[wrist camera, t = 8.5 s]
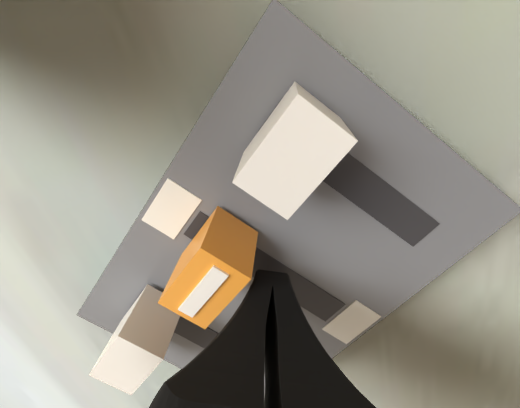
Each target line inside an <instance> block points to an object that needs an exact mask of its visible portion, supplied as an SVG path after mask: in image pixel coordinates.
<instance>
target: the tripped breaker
mask: <svg viewBox="0 0 520 408" xmlns="http://www.w3.org/2000/svg"><path fill="white" fill-rule="evenodd" d="M257 237H258V232H257V231H256V230H254V229H253V228H251V227H250V226H248V225H246V224H245V223H243V222H242V221H240V220H239V219H237V218H236V217H234V216H233V215H231V214H230V213H228V212H227V211H225V210H223V209H222V208H220V207H219V206H217V208H216V209H215V210H214V212H213V213H212V214H211V216H210V217H209V218H208V220H207V221H206V222H205V224H204V225H203V226H202V228H201V229H200V230H199V232H198V233H197V234H196V236H195V237H194V238H193V240H192V241H191V242H190V244H189V245H188V246H187V248H186V249H185V250H184V252H183V253H182V254H181V256H180V258H179V260H178V262H177V264H176V266H175V269H174V271H173V273H172V275H171V277H170V279H169V281H168V283H167V285H166V287H165V289H164V291H163V293H162V295H161V297H160V299H159V301H158V304H160V305H162V306H163V307H165V308H167V309H169V310H171V311H172V312H174V313H176V314H178V315H180V316H182V317H183V318H185V319H187V320H189V321H191V322H192V323H194V324H196V325H198V326H200V327H201V328H203V329H206V328H207V327H208V326H209V325H210V323H211V322H212V321H213V320H214V319H215V318H216V317H217V316H218V315H219V314H220V313H221V312H222V310H223V309H224V308H225V307H226V306H227V305H228V304H229V303H230V302H231V301H232V300H233V299H234V298H235V296H236V295H237V294H238V293H239V292H240V291H241V290H242V289H243V288H244V287H245V286H246V285H247V283H248V282H249V281H250V280H251V279H252V272H253V265H254V258H255V251H256V244H257Z"/></svg>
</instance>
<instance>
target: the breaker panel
mask: <svg viewBox="0 0 520 408" xmlns="http://www.w3.org/2000/svg"><path fill="white" fill-rule="evenodd" d="M217 206H219V207H220V208H222V209H223V210H225V211H227V212H228V213H230V214H231V215H233V216H234V217H236V218H237V219H239V220H240V221H242V222H243V223H245V224H246V225H248V226H250V227H251V228H253V229H254V230H256V231H257V232H258V237H257V244H256V251H255V258H254V265H253V272H252V279H251V280H250V281H249V282H248V283H247V285H246V286H245V287H244V288H243V289H242V290H241V291H240V292H239V293H238V294H237V295H236V296H235V298H234V299H233V300H232V301H231V302H230V303H229V304H228V305H227V306H226V307H225V308H224V309H223V310H222V312H221V313H220V314H219V315H218V316H217V317H216V318H215V319H214V320H213V321H212V322H211V323H210V325H209V326H208V327H207V328H206V329H203V328H201V327H200V326H198V325H196V324H194V323H192V322H191V321H189V320H187V319H185V318H183V317H182V316H180V315H178V314H176V313H174V312H172V311H171V310H169V309H167V308H165V307H163V306H162V305H160V304H158V301H159V299H160V297H161V295H162V293H163V291H164V289H165V287H166V285H167V283H168V281H169V279H170V277H171V275H172V273H173V271H174V269H175V266H176V264H177V262H178V260H179V258H180V256H181V254H182V253H183V252H184V250H185V249H186V248H187V246H188V245H189V244H190V242H191V241H192V240H193V238H194V237H195V236H196V234H197V233H198V232H199V230H200V229H201V228H202V226H203V225H204V224H205V222H206V221H207V220H208V218H209V217H210V216H211V214H212V213H213V212H214V210H215V209H216V208H217ZM519 213H520V207H519V206H518V205H517V204H516V203H515V202H514V201H512V200H511V199H510V198H509V197H508V196H507V195H505V194H504V193H503V192H502V191H501V190H499V189H498V188H497V187H496V186H495V185H494V184H492V183H491V182H490V181H489V180H488V179H487V178H485V177H484V176H483V175H482V174H481V173H479V172H478V171H477V170H476V169H475V168H474V167H472V166H471V165H470V164H469V163H468V162H467V161H465V160H464V159H463V158H462V157H461V156H459V155H458V154H457V153H456V152H455V151H454V150H452V149H451V148H450V147H449V146H448V145H447V144H445V143H444V142H443V141H442V140H441V139H439V138H438V137H437V136H436V135H435V134H434V133H432V132H431V131H430V130H429V129H428V128H427V127H425V126H424V125H423V124H422V123H421V122H419V121H418V120H417V119H416V118H415V117H414V116H412V115H411V114H410V113H409V112H408V111H407V110H405V109H404V108H403V107H402V106H401V105H399V104H398V103H397V102H396V101H395V100H394V99H392V98H391V97H390V96H389V95H388V94H387V93H385V92H384V91H383V90H382V89H381V88H379V87H378V86H377V85H376V84H375V83H374V82H372V81H371V80H370V79H369V78H368V77H367V76H365V75H364V74H363V73H362V72H361V71H359V70H358V69H357V68H356V67H355V66H354V65H352V64H351V63H350V62H349V61H348V60H347V59H345V58H344V57H343V56H342V55H341V54H339V53H338V52H337V51H336V50H335V49H334V48H332V47H331V46H330V45H329V44H328V43H327V42H325V41H324V40H323V39H322V38H321V37H319V36H318V35H317V34H316V33H315V32H314V31H312V30H311V29H310V28H309V27H308V26H307V25H305V24H304V23H303V22H302V21H301V20H299V19H298V18H297V17H296V16H295V15H294V14H292V13H291V12H290V11H289V10H288V9H287V8H285V7H284V6H283V5H282V4H281V3H279V2H278V1H277V0H272V1H271V3H270V5H269V6H268V8H267V9H266V11H265V13H264V14H263V16H262V17H261V19H260V21H259V22H258V24H257V25H256V27H255V29H254V30H253V32H252V34H251V35H250V37H249V38H248V40H247V42H246V43H245V45H244V46H243V48H242V50H241V51H240V53H239V54H238V56H237V58H236V59H235V61H234V62H233V64H232V66H231V67H230V69H229V71H228V72H227V74H226V75H225V77H224V79H223V80H222V82H221V83H220V85H219V87H218V88H217V90H216V91H215V93H214V95H213V96H212V98H211V99H210V101H209V103H208V104H207V106H206V108H205V109H204V111H203V112H202V114H201V116H200V117H199V119H198V120H197V122H196V124H195V125H194V127H193V128H192V130H191V132H190V133H189V135H188V136H187V138H186V140H185V141H184V143H183V145H182V146H181V148H180V149H179V151H178V153H177V154H176V156H175V157H174V159H173V161H172V162H171V164H170V165H169V167H168V169H167V170H166V172H165V173H164V175H163V177H162V178H161V180H160V182H159V183H158V185H157V186H156V188H155V190H154V191H153V193H152V194H151V196H150V198H149V199H148V201H147V202H146V204H145V206H144V207H143V209H142V210H141V212H140V214H139V215H138V217H137V219H136V220H135V222H134V223H133V225H132V227H131V228H130V230H129V231H128V233H127V235H126V236H125V238H124V239H123V241H122V243H121V244H120V246H119V247H118V249H117V251H116V252H115V254H114V256H113V257H112V259H111V260H110V262H109V264H108V265H107V267H106V268H105V270H104V272H103V273H102V275H101V276H100V278H99V280H98V281H97V283H96V284H95V286H94V288H93V289H92V291H91V292H90V294H89V296H88V297H87V299H86V301H85V302H84V304H83V305H82V307H81V309H80V310H79V312H78V313H77V316H79V317H81V318H83V319H85V320H87V321H89V322H91V323H93V324H95V325H97V326H99V327H101V328H103V329H105V330H107V331H109V332H111V333H113V335H112V337H111V338H110V340H109V342H108V344H107V345H106V347H105V349H104V350H103V352H102V354H101V355H100V357H99V359H98V360H97V362H96V364H95V365H94V367H93V369H92V371H91V372H90V374H89V376H92V377H94V378H96V379H98V380H100V381H102V382H104V383H106V384H108V385H111V386H113V387H115V388H117V389H119V390H121V391H123V392H125V393H127V394H130V395H132V394H133V393H134V392H135V391H136V389H137V388H138V387H139V386H140V385H141V384H142V383H143V382H144V380H145V379H146V378H147V377H148V376H149V375H150V374H151V373H152V372H153V370H154V369H155V368H156V367H157V366H158V365H159V364H160V363H161V361H162V360H165V361H167V362H169V363H171V364H173V365H175V366H177V367H179V368H181V369H182V368H184V367H185V366H186V365H187V364H188V363H189V362H191V361H192V360H193V359H194V358H195V357H196V356H197V355H198V354H199V353H200V352H201V351H203V350H204V349H205V348H206V347H207V346H208V345H209V344H210V342H211V341H212V340H213V339H214V338H215V337H216V336H217V335H218V334H219V332H220V331H221V330H222V329H223V328H224V326H225V325H226V324H227V323H228V321H229V320H230V319H231V317H232V316H233V315H234V313H235V312H236V310H237V309H238V307H239V306H240V304H241V303H242V301H243V299H244V297H245V296H246V294H247V292H248V290H249V288H250V286H251V284H252V282H253V279H254V276H255V272H256V271H257V270H259V269H260V270H267V271H274V272H282V273H287V274H288V275H289V278H290V281H291V285H292V287H293V290H294V293H295V295H296V298H297V300H298V302H299V305H300V307H301V309H302V311H303V313H304V315H305V317H306V319H307V321H308V323H309V325H310V326H311V328H312V330H313V332H314V333H315V335H316V337H317V338H318V340H319V341H320V343H321V344H322V346H323V347H324V349H325V350H326V352H327V353H328V355H329V356H330V357H331V359H332V358H334V357H335V356H336V355H337V354H339V353H340V352H341V351H343V350H344V349H345V348H346V347H348V346H349V345H350V344H352V343H353V342H354V341H355V340H357V339H358V338H359V337H361V336H362V335H363V334H364V333H366V332H367V331H368V330H370V329H371V328H372V327H373V326H375V325H376V324H377V323H379V322H380V321H381V320H383V319H384V318H385V317H386V316H388V315H389V314H390V313H392V312H393V311H394V310H395V309H397V308H398V307H399V306H401V305H402V304H403V303H404V302H406V301H407V300H408V299H410V298H411V297H412V296H413V295H415V294H416V293H417V292H419V291H420V290H421V289H422V288H424V287H425V286H426V285H428V284H429V283H430V282H431V281H433V280H434V279H435V278H437V277H438V276H439V275H441V274H442V273H443V272H444V271H446V270H447V269H448V268H450V267H451V266H452V265H453V264H455V263H456V262H457V261H459V260H460V259H461V258H462V257H464V256H465V255H466V254H468V253H469V252H470V251H471V250H473V249H474V248H475V247H477V246H478V245H479V244H480V243H482V242H483V241H484V240H486V239H487V238H488V237H489V236H491V235H492V234H493V233H495V232H496V231H497V230H499V229H500V228H501V227H502V226H504V225H505V224H506V223H508V222H509V221H510V220H511V219H513V218H514V217H515V216H517V215H518V214H519ZM264 398H265V363H264Z"/></svg>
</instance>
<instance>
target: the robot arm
mask: <svg viewBox="0 0 520 408" xmlns="http://www.w3.org/2000/svg"><path fill="white" fill-rule="evenodd" d="M264 363H265V398H264ZM149 408H376V407H375V406H374V405H373V404H372V403H371V402H370V401H369V400H368V399H367V398H365V397H364V396H363V395H362V394H361V393H360V392H359V391H358V390H357V389H356V387H355V386H354V385H353V384H352V383H351V382H350V381H349V380H348V379H347V377H346V376H345V375H344V374H343V372H342V371H341V370H340V369H339V367H338V366H337V365H336V364H335V363H334V361H333V360H332V359H331V357H330V356H329V355H328V353H327V352H326V350H325V349H324V347H323V346H322V344H321V343H320V341H319V340H318V338H317V337H316V335H315V333H314V332H313V330H312V328H311V326H310V325H309V323H308V321H307V319H306V317H305V315H304V313H303V311H302V309H301V307H300V305H299V302H298V300H297V298H296V295H295V293H294V290H293V287H292V285H291V281H290V278H289V275H288V274H287V273H282V272H274V271H267V270H260V269H259V270H257V271H256V272H255V276H254V279H253V282H252V284H251V286H250V288H249V290H248V292H247V294H246V296H245V297H244V299H243V301H242V303H241V304H240V306H239V307H238V309H237V310H236V312H235V313H234V315H233V316H232V317H231V319H230V320H229V321H228V323H227V324H226V325H225V326H224V328H223V329H222V330H221V331H220V332H219V334H218V335H217V336H216V337H215V338H214V339H213V340H212V341H211V342H210V344H209V345H208V346H207V347H206V348H205V349H204V350H203V351H201V352H200V353H199V354H198V355H197V356H196V357H195V358H194V359H193V360H192V361H191V362H189V363H188V364H187V365H186V366H185V367H184V368H182V369H181V370H180V371H178V372H177V373H176V374H175V375H173V376H172V377H171V378H169V379H168V380H167V381H165V382H164V384H163V385H162V387H161V388H160V390H159V391H158V393H157V395H156V396H155V398H154V399H153V401H152V403H151V405H150V407H149Z"/></svg>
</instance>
